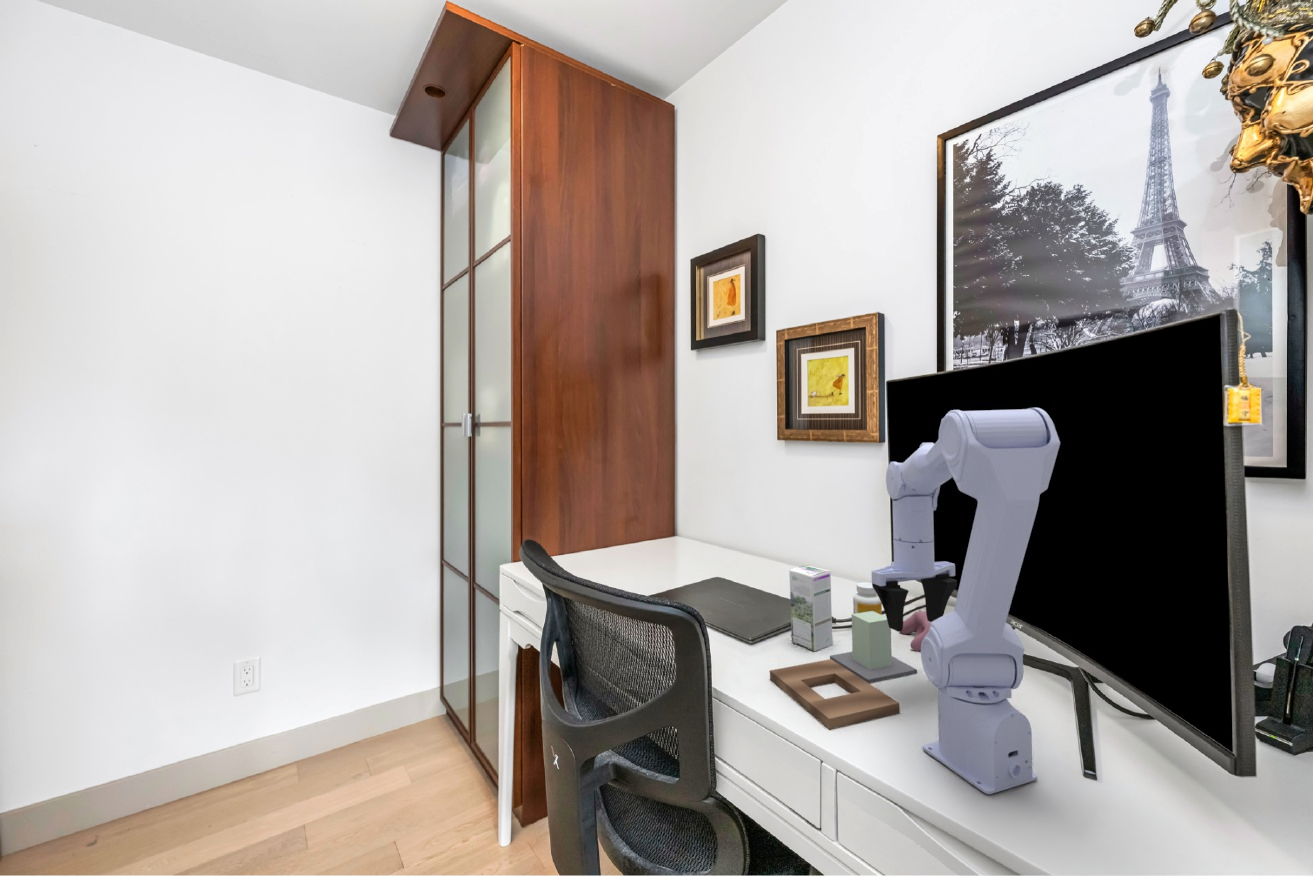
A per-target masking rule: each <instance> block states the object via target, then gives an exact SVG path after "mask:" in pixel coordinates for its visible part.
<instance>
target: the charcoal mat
mask: <svg viewBox="0 0 1313 876" xmlns="http://www.w3.org/2000/svg"><path fill="white" fill-rule="evenodd" d="M829 659H831V660H833V661H835V662H836V663H838V664H839V665H841V666H842V667H844V668H846V669H847V670H849V671H850V672H852V673H853V674H855V675H857V676H858V677H860V678H861V679H863V680H864V681H866V682H867V683H869V684H873V683H877V682H881V681H886V680H891V679H895V678H901V677H905V676H909V675H915V674H918V669H917V668H915V667H913V666H911V665H910V664H908V663H906V662H903V661H902V660H900V659H899V658H896V657H894V656H893V655H892V666H887V667H882V668H877V669H872V670H870V669H868V668H866V667H865V666H863V665H861V664H860V663H858V662H857V661H855V660H853V652H852V651H847V652H842V653H837V654H832V655H829Z"/></svg>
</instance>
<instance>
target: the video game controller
mask: <svg viewBox="0 0 1313 876" xmlns="http://www.w3.org/2000/svg"><path fill="white" fill-rule="evenodd" d="M930 625H931V622H930V621H928V620H927V615H926V610H922V609H921V608H919V610H916V611H914V613H912V615H911V616H909V617H908V618H907V619H905V620H903V629H902V631H900V632H899V633H900V634H901V635H909V634H911V633H913V632H915V631H916V633H915V637H914V638H913V639H912V641H910V648H911V649H912V650H913V651H914V652H921V643H922V640H923V639H924V637H925V635H926V634H927V633H928V632H929V629H930Z"/></svg>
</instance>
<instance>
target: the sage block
mask: <svg viewBox="0 0 1313 876" xmlns="http://www.w3.org/2000/svg"><path fill="white" fill-rule="evenodd" d="M851 640H852V642H851V643H852V644H851V645H852V648H851V649H852V651H851V652H853V660H855V661H857V662H858V663H860V664H861V665H863V666H865V667H866V668H868V669H870V670H872V669H877V668H882V667H887V666H892V656H893V655H892V653H893V652H892V629H891V628H889V625H888V621H887V617H886V615H883V614H882V615H880V614H878V613H876V612H874V611H869V612H863V613H856V614H854V613H851Z"/></svg>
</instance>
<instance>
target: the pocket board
mask: <svg viewBox="0 0 1313 876" xmlns="http://www.w3.org/2000/svg"><path fill="white" fill-rule="evenodd" d="M769 680H770V681H771V682H772V683H774V684H775V685H776V686H777V687H779V689H780V690H781V691H783V692H784V693H786V694H787V695H788V697H790V698H791V699H792V700H794V701H795V702H796V703H797V704H799V705H800V707H802V708H803V709H805V710H806V712H808V713H809V714H811V716H813V718H815V719H816V720H818V721H819V722H820V724H822V725H823V726H825V727H826V728H827V729H828V730H830V731H831V730H834V729H838V728H842V727H846V726H850V725H854V724H859V723H863V722H869V721H872V720H876V719H880V718H885V717H889V716H893V715H897V714H900V713H901V712H900V710H901V709H900V702H899V701H897V700H896V699H894V698H893V697H891V696H890V695H888V694H886V693H885V692H884V691H882V690H880V689H879V688H877V687H875V686H874V685H872V683H867V682H866V681H864V680H863V679H861V678H860V677H858V676H857V675H855V674H853V673H852V672H850V671H849V670H847V669H846V668H844V667H842V666H841V665H839V664H838V663H836V662H835V661H833V660H831V659H830V658H829V659H824V660H819V661H814V662H809V663H808V662H807V663H803V664H798V665H793V666H787V667H781V668H776V669H771V670H769ZM834 683H835V684H837V685H838V686H840V687H841V688H842V689H844V690H845V691H847V692H848V693H847V694H843V695H838V696H833V697H829V698H824V697H823V696H822V695H821V694H819V692H817V691H816V690H814V689H813V688H814V687H818V686H824V685H829V684H834Z"/></svg>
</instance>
